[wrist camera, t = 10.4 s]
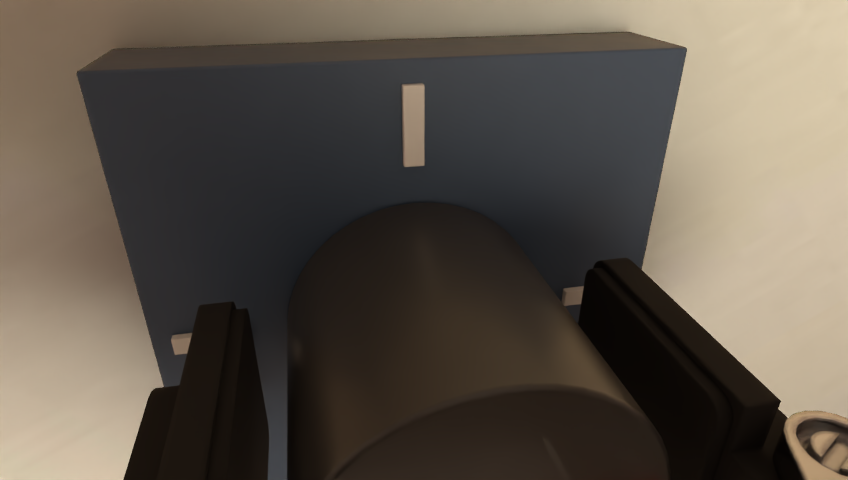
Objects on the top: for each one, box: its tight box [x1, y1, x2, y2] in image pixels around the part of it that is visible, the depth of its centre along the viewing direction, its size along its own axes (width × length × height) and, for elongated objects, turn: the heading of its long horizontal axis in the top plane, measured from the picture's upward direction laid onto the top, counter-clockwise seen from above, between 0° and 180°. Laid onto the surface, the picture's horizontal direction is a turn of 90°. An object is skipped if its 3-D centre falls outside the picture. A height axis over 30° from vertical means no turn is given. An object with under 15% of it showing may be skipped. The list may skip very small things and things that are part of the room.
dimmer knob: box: [287, 203, 671, 480], centre depth 9 cm, size 5×5×5 cm
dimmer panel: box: [77, 32, 687, 480], centre depth 12 cm, size 10×10×2 cm
